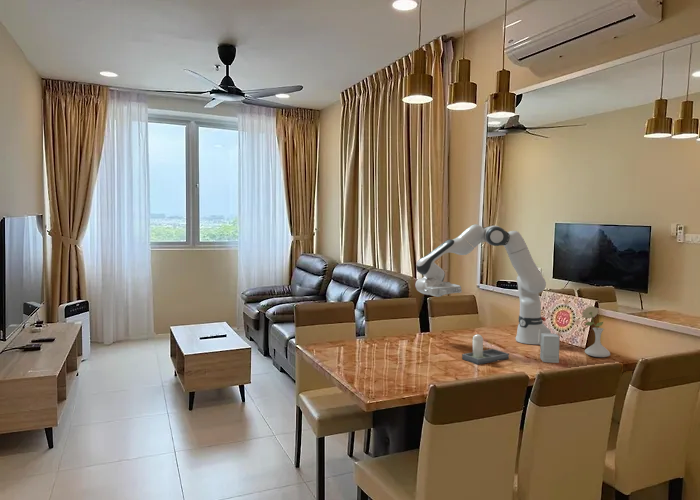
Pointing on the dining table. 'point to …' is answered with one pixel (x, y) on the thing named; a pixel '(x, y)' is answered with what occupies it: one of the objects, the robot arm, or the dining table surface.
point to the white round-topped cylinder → (477, 346)
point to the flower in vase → (597, 347)
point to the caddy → (486, 356)
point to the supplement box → (549, 347)
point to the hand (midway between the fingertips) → (454, 291)
